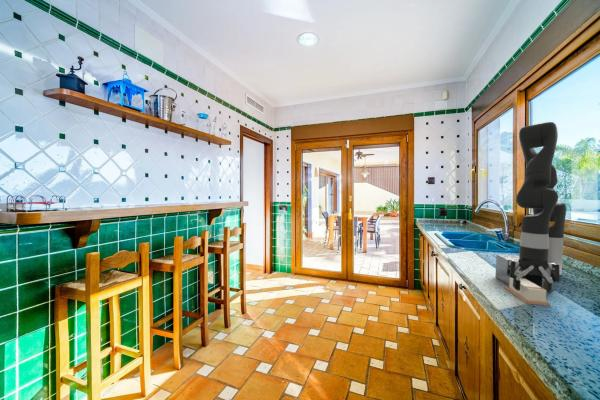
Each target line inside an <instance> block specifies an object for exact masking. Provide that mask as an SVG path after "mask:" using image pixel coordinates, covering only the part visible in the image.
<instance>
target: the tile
mask: <svg viewBox="0 0 600 400" xmlns="http://www.w3.org/2000/svg"><path fill="white" fill-rule="evenodd" d="M504 289H506V290H508V291H509V293H511V294H513V295H514V296H515V297H517V298H518V299H519V300H520V301H522V302H524V303H525V304H530V305H539V306H549V307H551V306H552V303H550V302H549V301H547V300H546V302H540V301H530V300H527V299H526V298H524V297H523V296H521V295H520V294H518V293H517V292H515V291H514V290H512V289H511V288H509V286H508V285H505V286H504Z"/></svg>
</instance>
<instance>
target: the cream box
mask: <svg viewBox="0 0 600 400" xmlns="http://www.w3.org/2000/svg"><path fill="white" fill-rule="evenodd" d="M520 281H521V282H520V291H519V290H516V289H515V288H514V287H513V278H511V277H510V282H509V288H511V289H512V290H514V291H515V292H517V293H518V294H520V295H521V296H523V297H524V298H526V299H527V300H530V301H540V302H546V301H547V293H546V290H545V289H543V288H541V287H539V286H538V285H536V284H534V283H532V282H530V281H529V280H527V279H525V278H521V279H520Z"/></svg>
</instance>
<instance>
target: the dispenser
mask: <svg viewBox="0 0 600 400" xmlns="http://www.w3.org/2000/svg"><path fill="white" fill-rule="evenodd" d="M495 258H496V262H495V278H496V279H498V280H499V281H500V282H502V283H504V284H505V286H509V282H510V277H509V276H508V275H507V267H508V260H513V261H519V255H514V254H513V255H512V254H499V253H497V254H496V257H495ZM547 263H549V262H547ZM519 268H520V266H519V265H517V267H515V273H516V271H517V269H519ZM545 271H546V272H547V274H548V275H549V277H550V269H549V267H548V268H547V269H546V270H545ZM515 273H514V274H515ZM522 278H525V279H527V280H529V281H530V282H532V283H534V284H536V285H538V286H539V287H541V288H543V283H544V281H545V280H544V279H543V277H542V276H541V275H535V274H533V275H529V274H526V275H525V276H523V277H522ZM554 283H555V282H553V283H552V290H551V292H553V291H554Z"/></svg>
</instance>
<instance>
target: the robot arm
mask: <svg viewBox="0 0 600 400" xmlns="http://www.w3.org/2000/svg"><path fill="white" fill-rule="evenodd" d="M558 135H559V134H558V126H557V125H556V123H555V122H554V121H549V122H542V123H541V122H540V123H535V124H532V125H527V126H523V127H521V128H520V130H519V132H518V138H519V139H518V140H519V145H520V146H521V150H522V154H523V158H524V161H525V169H524V170H525V171H524V181H523V182H522V185H521V187H520V189H519V191H518V193H517V194H516V199H515V201H516V202H515V203H516V204H517V206H519V208H522V209H532V214H528V215H524V216H523V217H522V219H521V229H520V230H521V232H520V238H519V252H518V256H519V261H513V260H508V267H507V275H508V276H509V277H511V278H513V287H514V288H515V289H516V290H519V291H520V282H521V281H520V279H521V278H522V277H523V276H525V275H526V274H529V275H533V274H535V275H541V276H542V277H543V279H544V280H545V281H544V283H543V289H545V290H546V294H550V293H551V292H552V291H551V290H552V283H553V282H554V283H555V282H557V283H558V282H560V278H561V277H560V276H562V272H563V271H562V270H563V255H564V254H563V253H564V251H563V250H564V236H565V222H566V216H567V215H566V214H567V206H566V204H565V203H563V202H559V195H558V194H559V193H558V192H557V191H556V190H555V189H554V188H555V187H556V186H557V184H558V174H557V169H556V167H555V166H554V164H553V160H554V156H555V152H556V148H557V144H558ZM537 148H541V149H540V151H538V152H537V151H536V150H535V149H537ZM550 222H551V223H554V224H553V225H550ZM547 262H549V263H547ZM517 265H519V266H520V268H519V269H517V271H516V273H515V267H517ZM548 267H549V269H550V277H549V275H548V274H547V272H546V271H545V270H546V269H547V268H548ZM514 273H515V274H514Z"/></svg>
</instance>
